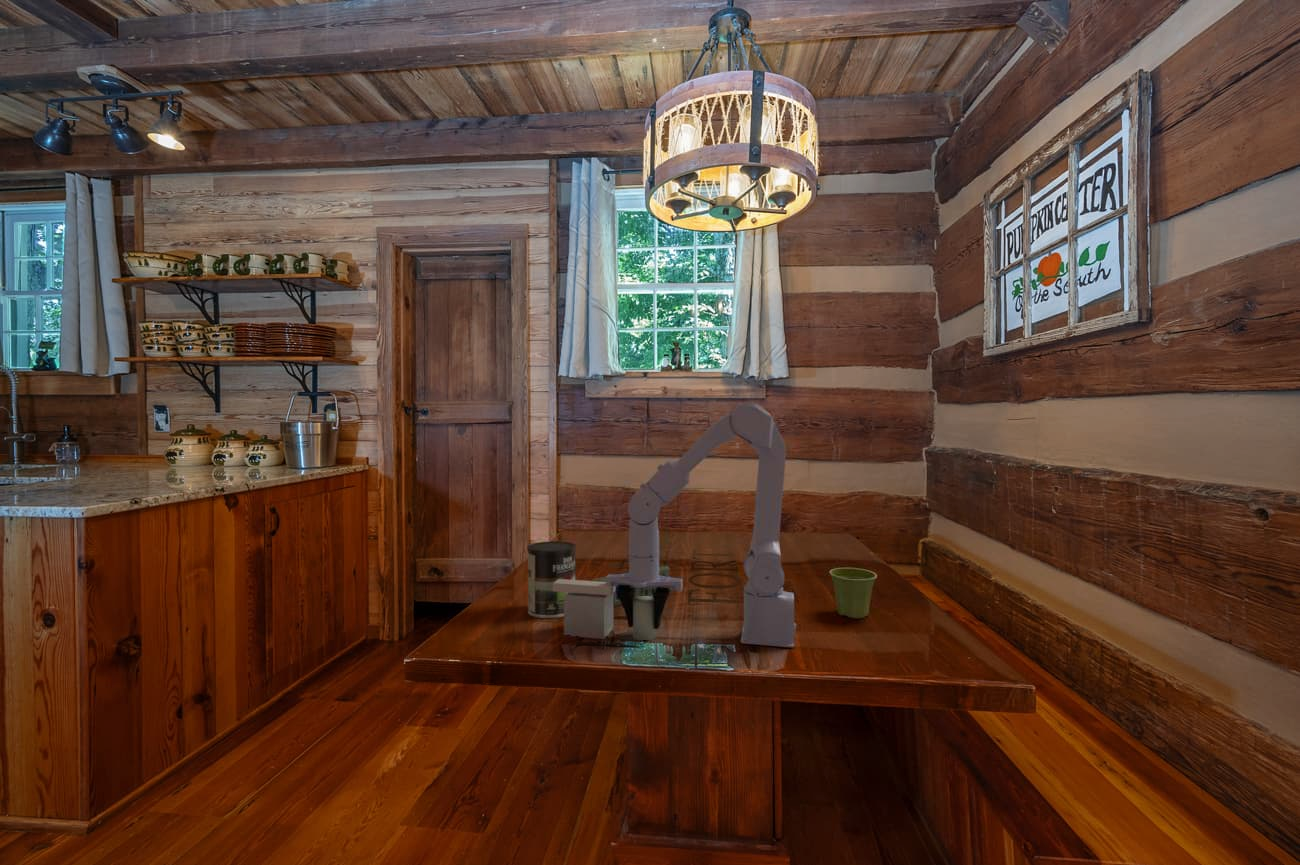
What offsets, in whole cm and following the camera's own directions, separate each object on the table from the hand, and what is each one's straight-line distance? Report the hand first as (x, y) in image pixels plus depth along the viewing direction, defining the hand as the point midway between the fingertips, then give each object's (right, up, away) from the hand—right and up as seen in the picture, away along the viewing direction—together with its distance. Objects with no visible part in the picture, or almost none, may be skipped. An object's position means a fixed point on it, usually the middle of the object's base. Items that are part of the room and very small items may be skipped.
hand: (644, 626), depth 106 cm
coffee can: (-20, -2, +15) cm, 25 cm away
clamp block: (-11, -2, +3) cm, 11 cm away
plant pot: (+44, -2, +12) cm, 46 cm away
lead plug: (0, -2, 0) cm, 2 cm away
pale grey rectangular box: (-12, +6, +3) cm, 13 cm away
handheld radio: (-5, -2, +21) cm, 21 cm away
